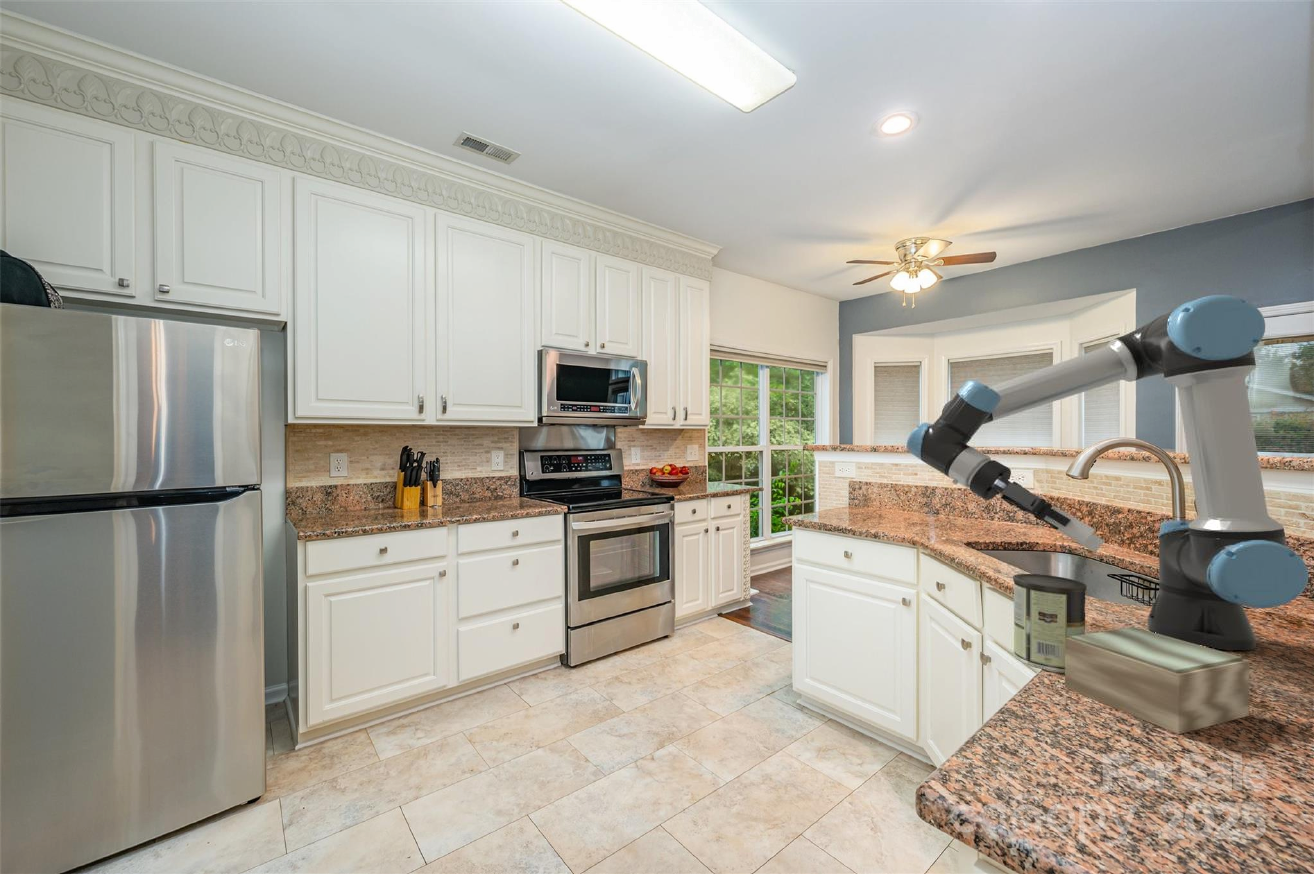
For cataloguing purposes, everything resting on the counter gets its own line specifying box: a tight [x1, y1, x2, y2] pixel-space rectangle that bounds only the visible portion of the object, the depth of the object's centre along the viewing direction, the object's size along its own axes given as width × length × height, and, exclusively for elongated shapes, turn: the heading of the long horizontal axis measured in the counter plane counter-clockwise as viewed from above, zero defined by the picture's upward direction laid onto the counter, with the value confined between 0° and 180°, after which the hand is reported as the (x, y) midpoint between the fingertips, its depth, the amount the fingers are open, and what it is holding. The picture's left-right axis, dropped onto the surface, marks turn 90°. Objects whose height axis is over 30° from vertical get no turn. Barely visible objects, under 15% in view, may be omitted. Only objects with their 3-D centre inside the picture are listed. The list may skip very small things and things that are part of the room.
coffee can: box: [1012, 573, 1087, 674], centre depth 93 cm, size 10×10×14 cm
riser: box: [1064, 626, 1250, 735], centre depth 79 cm, size 16×14×8 cm
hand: (1095, 542), depth 92 cm, fingers open, 13 cm apart
